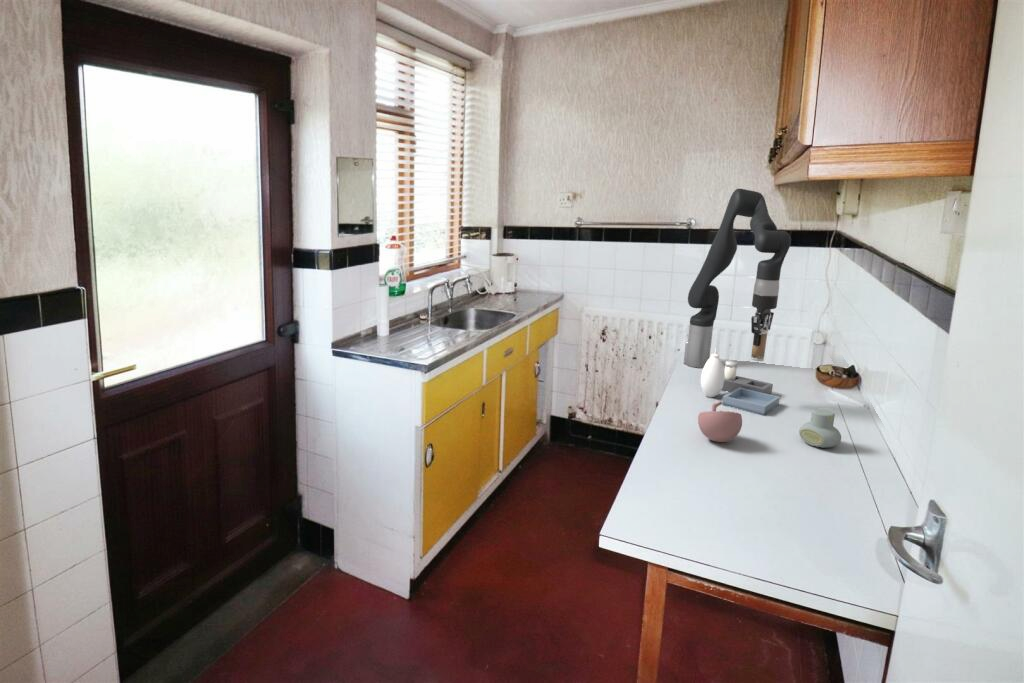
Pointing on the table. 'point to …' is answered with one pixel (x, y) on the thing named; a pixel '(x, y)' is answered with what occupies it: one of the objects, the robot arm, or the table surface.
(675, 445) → the table surface
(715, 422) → the mortar and pestle
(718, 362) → the sauce bottle
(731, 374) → the cylinder
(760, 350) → the cylinder
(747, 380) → the block
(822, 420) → the air freshener
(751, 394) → the parts tray
